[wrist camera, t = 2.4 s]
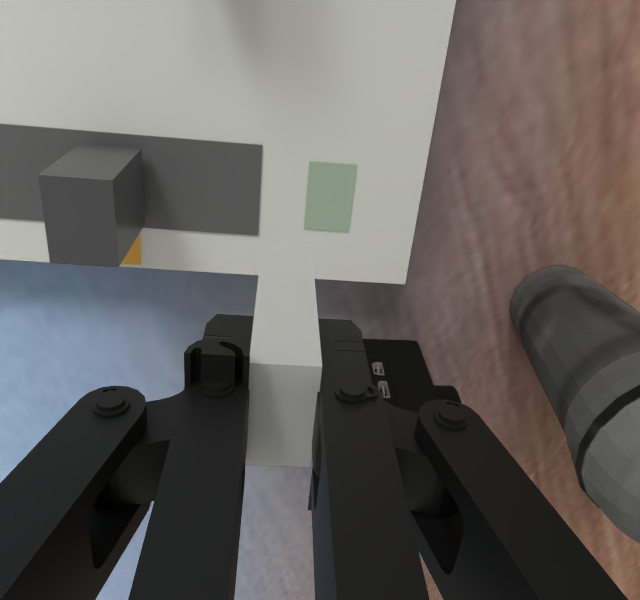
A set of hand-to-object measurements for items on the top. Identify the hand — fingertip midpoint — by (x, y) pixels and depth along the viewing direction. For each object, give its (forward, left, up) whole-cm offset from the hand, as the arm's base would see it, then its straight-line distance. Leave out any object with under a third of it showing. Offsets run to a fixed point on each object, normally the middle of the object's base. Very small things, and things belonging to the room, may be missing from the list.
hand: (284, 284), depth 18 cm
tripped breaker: (0, -7, -8) cm, 10 cm away
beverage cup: (+6, +15, -11) cm, 20 cm away
